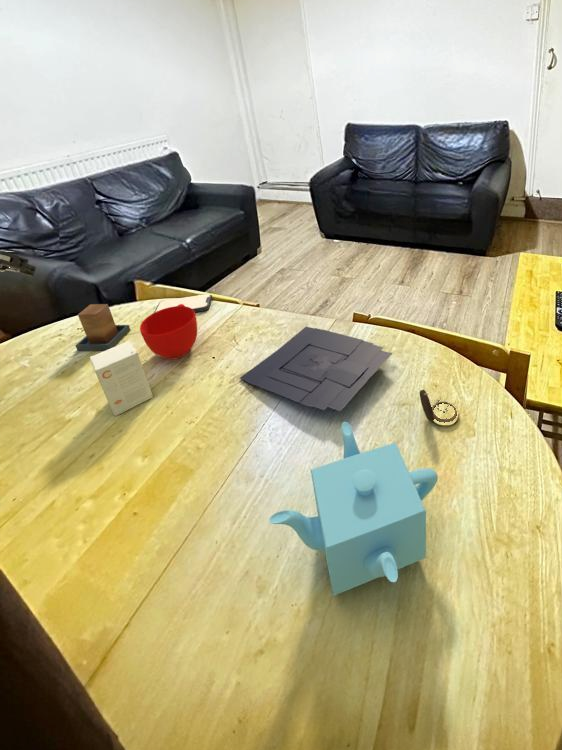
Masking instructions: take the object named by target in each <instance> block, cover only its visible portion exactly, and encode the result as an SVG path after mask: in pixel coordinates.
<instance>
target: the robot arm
mask: <svg viewBox="0 0 562 750" xmlns="http://www.w3.org/2000/svg"><path fill="white" fill-rule="evenodd" d="M29 261H30V260H29V258H25V257H22V256H19V255H16V254H13V253H11V252H7V251H5V250H0V272H1V273H3V272H5V271H9V272H14V273H18V274H22V275H24V276H28V277H33V276H34V275H35V273H36V270H37V267H36V266H34V265H32V264H29Z"/></svg>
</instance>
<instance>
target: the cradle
mask: <svg viewBox="0 0 562 750" xmlns="http://www.w3.org/2000/svg"><path fill="white" fill-rule="evenodd" d="M115 325H116V328H117V330H118V334H117V335H116V336H115V337H114V338H113V339H112V340H111V341H110V342H109V343H108V344H90V343H89V341H88V339H87V336H86V335H85V336H84V337H83V338H82V339H81V340H79V342H77V343H76V344H75V345H74V346H75V349H76V350H77V351H76V352H103V351H106V350H108V349H111V348H113V347H115V346H118V345H119V344H118V343H120V342H121V341H122V340H123V339H124V338H125V337H126V336H127V334H128V333H130V331H131V327H130V324H115Z"/></svg>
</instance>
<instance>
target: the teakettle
mask: <svg viewBox="0 0 562 750" xmlns="http://www.w3.org/2000/svg"><path fill="white" fill-rule="evenodd" d="M341 433H342V440H343V455H342V456H343V457H342V459H339V460H336V461H332V462H330V463H326V464H323V465H320V466H318V467H314V468H312V469H310V474H311V480H312V486H313V491H314V492H313V494H314V499H315V505H316V511H317V516H306V515H304V514H302V513H301V512H299V511H297V510H293V509H284V510H280V511H278V512H275V513H274V514H272V515H271V516H270V517H269V518H268V521H269V523H270V524H272V525H285V526H289V527H290V528H291V529H293V530H294V531H295V533H296V534H297V536H298V538H299V539H300V540H301V541H302V543H303V544H304V546H306V547H308V548H309V549H311V550H313V551H319V552H324V553H325V559H326V564H327V570H328V574H329V580H330V585H331V591H332V596H334V597H335V596H338V595H339V594H342V593H344V592H347V591H349V590H352V589H355V588H357V587H359V586H361V585H363V584H364V585H365V584H366V583H369V582H371V581H374V580H376V579H379V578H383V577H386V578H387V580H388V581H389V582H391V583H396V582H397V581H398V578H399V571H398V570H400V569H404V568H405V567H407V566H410V565H412V564H416V562H420V561H421V560H425V559H426V558H427V511H426V509H425V506H424V504H423V500H424V499H425V498H426V497H427V496H428V495H429V494H430V493H431V491H432V490H434V488H435V486H436V484H437V482H438V478H439V477H438V473H437V471H435V469H433V468H430V467H425V468H419V469H414V470H411V471H409V469H408V467H407V465H406V463H405V460H404V458H403V455H402V453H401V451H400V449H399V446H398V443H397V442H392V443H389V444H385V445H383V446H380V447H376V448H373V449H370V450H366V451H363V452H361V451H360V449H359V447H358V444H357V441H356V438H355V435H354V431H353V428H352V425H350V423H349V422H347V421H343V422H342V424H341ZM354 587H355V588H354Z"/></svg>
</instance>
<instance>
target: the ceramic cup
mask: <svg viewBox="0 0 562 750" xmlns="http://www.w3.org/2000/svg"><path fill="white" fill-rule="evenodd" d="M154 312H155V311H154ZM154 312H153V313H151V314H149V315H148V316H146V317H145V319H144V320H142V322H141V323H140V326H139V331H140V334H141V336H142V339H143V341H144V343H145V344H146V346H147V347H148V348H149V350H150V351H151V352H152V353H153V354H155V355H157V356H158V357H162V358H164V359H167V360H176V359H179V358H182V357H185V355H187V354H188V353H189V352H190V351H191V349H192V348H193V346H194V344H195V342H196V339H197V336H198V321H197V315H196V312H194V310H193V309H192V308H190V307H186V306H184V305H183V304H179V305H178V306H175V307H169V308H165V309H162V310H160V311H157V312H155V313H154Z"/></svg>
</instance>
